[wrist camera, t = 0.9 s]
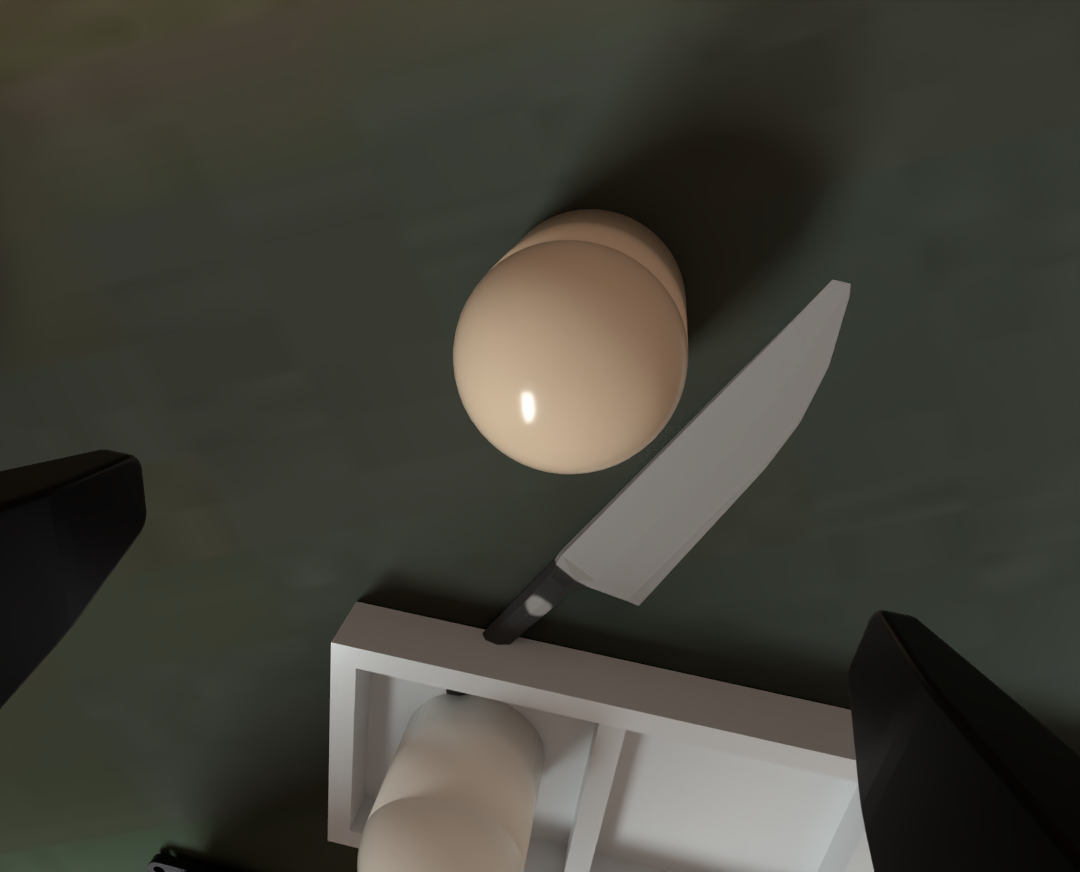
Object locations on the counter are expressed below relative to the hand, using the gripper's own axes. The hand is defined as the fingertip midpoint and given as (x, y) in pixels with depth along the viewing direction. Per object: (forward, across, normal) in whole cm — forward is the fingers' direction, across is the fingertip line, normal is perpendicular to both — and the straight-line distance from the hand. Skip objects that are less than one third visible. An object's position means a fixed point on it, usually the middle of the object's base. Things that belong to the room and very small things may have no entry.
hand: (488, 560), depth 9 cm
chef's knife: (+12, -3, +6) cm, 14 cm away
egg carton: (+11, -7, +15) cm, 20 cm away
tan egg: (+11, 0, 0) cm, 11 cm away
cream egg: (+11, +1, +15) cm, 19 cm away
